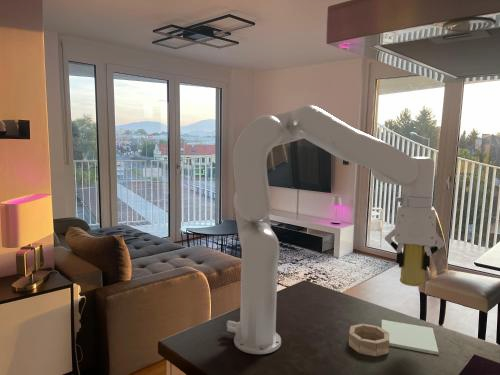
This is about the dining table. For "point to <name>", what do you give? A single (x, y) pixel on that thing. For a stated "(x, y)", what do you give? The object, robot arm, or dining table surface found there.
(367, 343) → the ring
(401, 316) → the dining table surface
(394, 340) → the mat
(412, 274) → the vase
